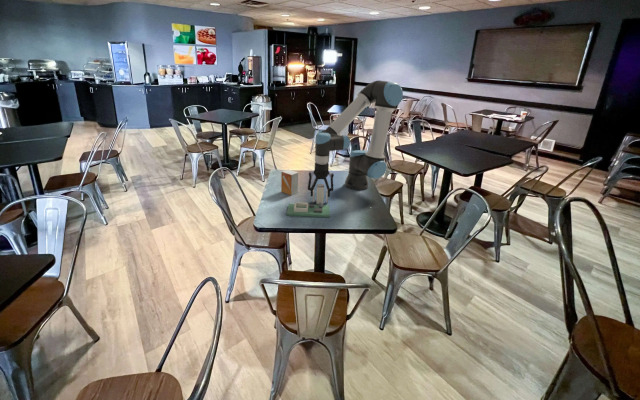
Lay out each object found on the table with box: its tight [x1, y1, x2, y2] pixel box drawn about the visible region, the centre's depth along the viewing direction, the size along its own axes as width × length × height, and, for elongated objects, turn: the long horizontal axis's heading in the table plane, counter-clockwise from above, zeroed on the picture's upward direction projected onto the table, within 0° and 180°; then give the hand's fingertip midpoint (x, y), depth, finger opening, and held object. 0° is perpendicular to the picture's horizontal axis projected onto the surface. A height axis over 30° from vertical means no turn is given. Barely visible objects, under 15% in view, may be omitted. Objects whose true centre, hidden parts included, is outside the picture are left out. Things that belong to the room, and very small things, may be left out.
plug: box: [315, 183, 325, 205], centre depth 178 cm, size 4×4×10 cm
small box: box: [280, 168, 299, 196], centre depth 189 cm, size 8×6×13 cm
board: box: [286, 201, 331, 218], centre depth 168 cm, size 22×12×4 cm, turn 91°
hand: (319, 201), depth 180 cm, fingers open, 7 cm apart
